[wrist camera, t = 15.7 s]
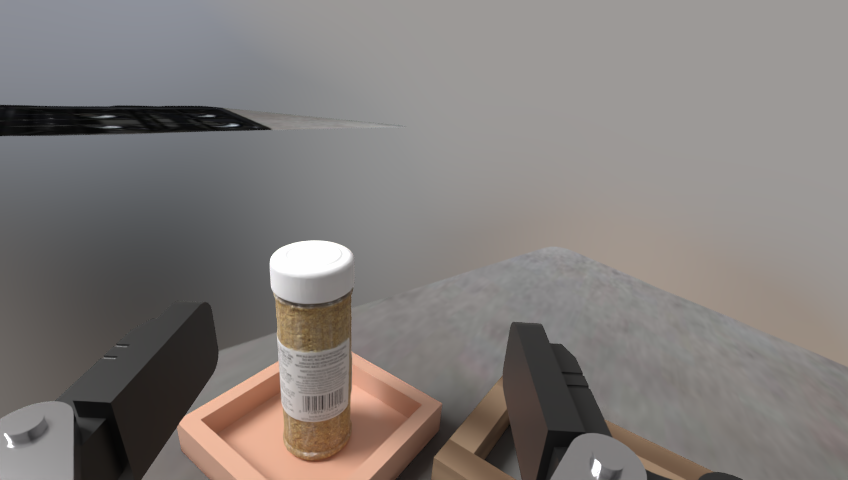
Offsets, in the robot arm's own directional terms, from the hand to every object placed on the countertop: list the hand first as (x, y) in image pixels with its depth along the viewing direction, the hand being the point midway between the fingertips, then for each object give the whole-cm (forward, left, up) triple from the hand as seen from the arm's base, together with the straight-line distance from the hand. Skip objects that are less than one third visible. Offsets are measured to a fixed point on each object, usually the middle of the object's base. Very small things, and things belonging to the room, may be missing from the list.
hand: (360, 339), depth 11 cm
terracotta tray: (-7, -10, -17) cm, 21 cm away
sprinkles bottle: (-7, -10, -17) cm, 21 cm away
